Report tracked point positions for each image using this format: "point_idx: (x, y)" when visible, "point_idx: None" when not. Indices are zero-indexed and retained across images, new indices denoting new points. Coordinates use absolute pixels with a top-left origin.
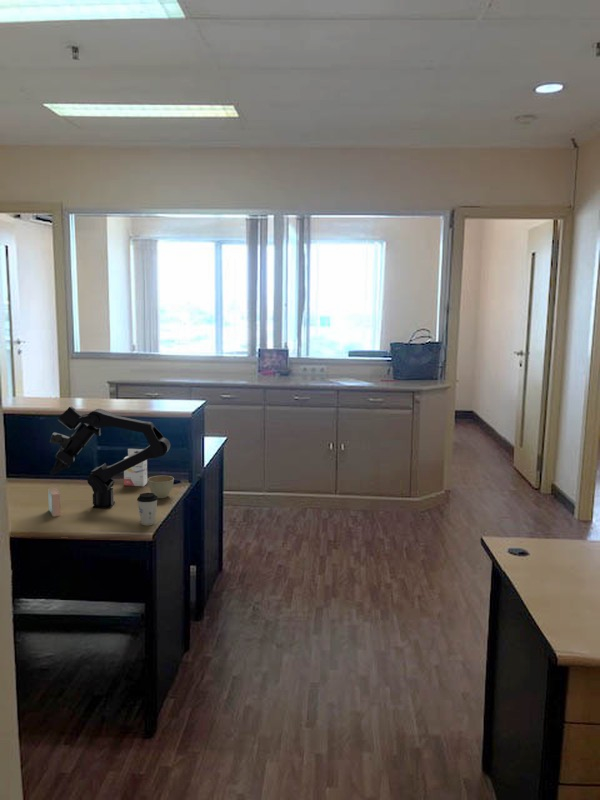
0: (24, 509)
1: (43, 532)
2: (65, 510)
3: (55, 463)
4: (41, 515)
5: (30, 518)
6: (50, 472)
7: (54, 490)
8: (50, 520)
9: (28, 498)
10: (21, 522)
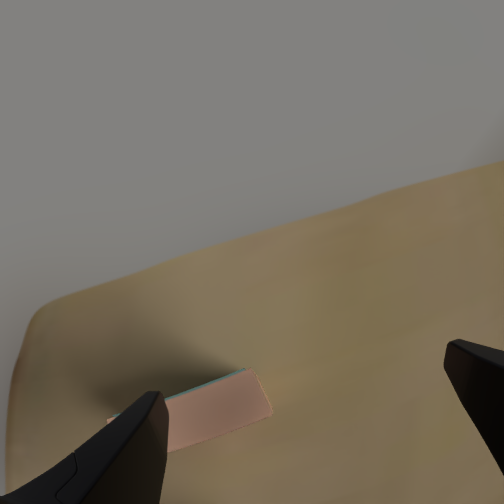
0: (278, 260)
1: (11, 393)
2: (245, 455)
3: (34, 482)
4: (181, 360)
5: (148, 321)
6: (138, 401)
7: (202, 421)
8: (111, 409)
9: (425, 230)
10: (108, 298)
